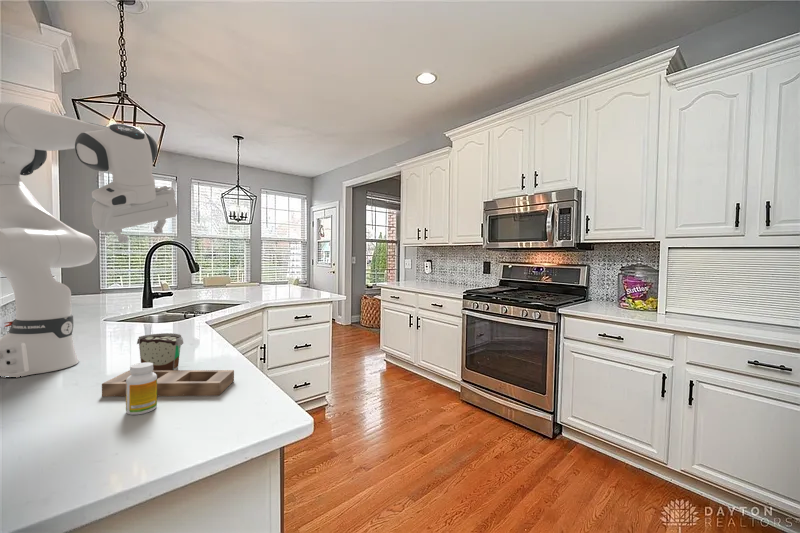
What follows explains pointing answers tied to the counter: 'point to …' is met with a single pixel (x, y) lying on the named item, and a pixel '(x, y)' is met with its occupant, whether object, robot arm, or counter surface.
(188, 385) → the socket rail
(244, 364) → the counter surface
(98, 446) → the counter surface
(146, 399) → the supplement bottle
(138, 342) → the food container
